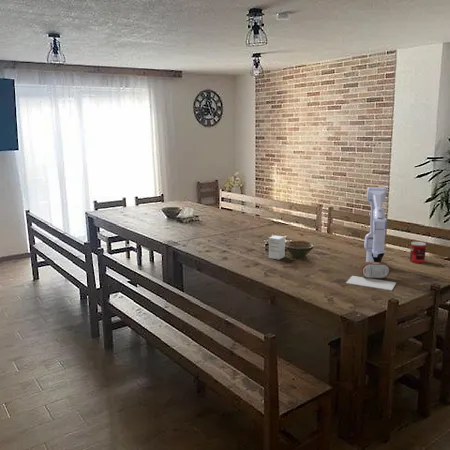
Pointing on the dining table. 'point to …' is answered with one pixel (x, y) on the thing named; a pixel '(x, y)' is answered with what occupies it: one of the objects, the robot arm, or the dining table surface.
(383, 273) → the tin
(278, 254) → the supplement box
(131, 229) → the dining table surface
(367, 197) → the robot arm
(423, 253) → the canned food
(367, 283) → the mat
